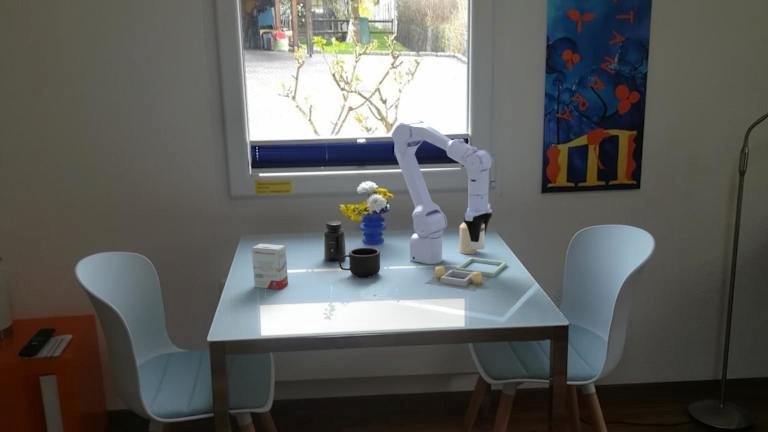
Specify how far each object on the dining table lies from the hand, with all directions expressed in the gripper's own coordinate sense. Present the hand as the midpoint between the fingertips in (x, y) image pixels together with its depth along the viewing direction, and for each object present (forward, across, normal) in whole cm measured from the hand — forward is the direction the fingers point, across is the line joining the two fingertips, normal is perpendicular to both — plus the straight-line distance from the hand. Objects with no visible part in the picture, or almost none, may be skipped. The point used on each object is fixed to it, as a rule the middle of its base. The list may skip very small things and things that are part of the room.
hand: (477, 239), depth 206 cm
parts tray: (+10, +2, 0) cm, 11 cm away
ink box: (+11, -35, +48) cm, 61 cm away
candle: (+11, +19, +11) cm, 24 cm away
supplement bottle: (+11, -6, +46) cm, 47 cm away
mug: (+11, -16, +30) cm, 36 cm away
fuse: (+2, 0, 0) cm, 2 cm away
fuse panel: (+10, -11, +1) cm, 15 cm away
